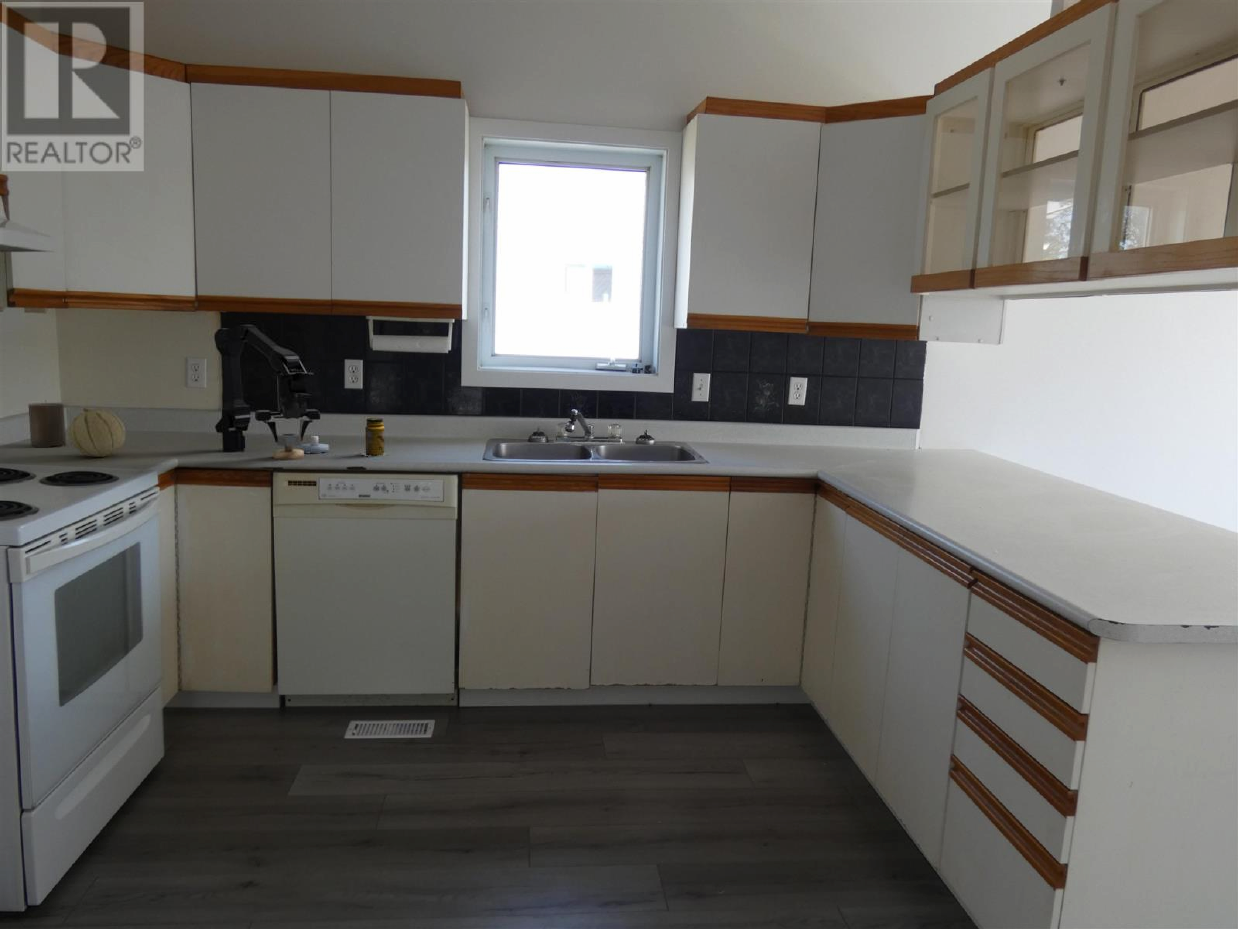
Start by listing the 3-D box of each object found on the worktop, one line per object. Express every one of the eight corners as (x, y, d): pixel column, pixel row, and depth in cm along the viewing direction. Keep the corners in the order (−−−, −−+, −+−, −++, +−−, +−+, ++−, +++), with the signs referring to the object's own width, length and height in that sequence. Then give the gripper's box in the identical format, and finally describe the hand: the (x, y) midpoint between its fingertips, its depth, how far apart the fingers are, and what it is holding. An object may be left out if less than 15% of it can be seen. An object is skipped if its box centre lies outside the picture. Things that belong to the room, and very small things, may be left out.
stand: (276, 460, 274) (275, 441, 273) (271, 456, 282) (270, 437, 281) (306, 458, 278) (306, 440, 277) (300, 454, 286) (300, 436, 285)
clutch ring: (279, 446, 274) (278, 436, 274) (275, 443, 280) (274, 433, 280) (302, 445, 278) (302, 435, 278) (298, 442, 284) (297, 433, 283)
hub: (303, 454, 287) (303, 438, 287) (297, 450, 295) (297, 435, 294) (331, 452, 292) (331, 437, 291) (325, 448, 300) (325, 434, 299)
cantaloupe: (133, 457, 270) (130, 409, 267) (78, 462, 260) (75, 411, 257) (117, 451, 280) (115, 404, 278) (64, 455, 270) (61, 406, 267)
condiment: (389, 455, 292) (389, 419, 290) (366, 457, 286) (365, 420, 284) (378, 452, 297) (378, 416, 295) (355, 454, 291) (354, 418, 289)
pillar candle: (64, 447, 285) (61, 400, 283) (28, 447, 281) (25, 401, 279) (67, 443, 294) (65, 398, 291) (33, 444, 289) (30, 398, 287)
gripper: (259, 395, 265) (261, 447, 268) (323, 394, 274) (324, 444, 277) (254, 392, 274) (255, 442, 277) (316, 391, 284) (316, 439, 286)
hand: (288, 442), depth 279 cm, fingers closed on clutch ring, 7 cm apart
